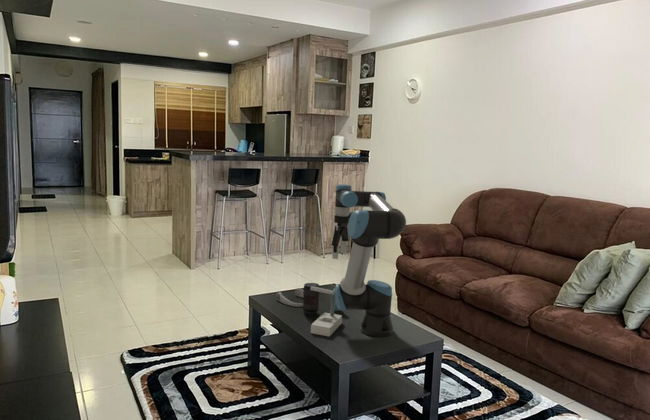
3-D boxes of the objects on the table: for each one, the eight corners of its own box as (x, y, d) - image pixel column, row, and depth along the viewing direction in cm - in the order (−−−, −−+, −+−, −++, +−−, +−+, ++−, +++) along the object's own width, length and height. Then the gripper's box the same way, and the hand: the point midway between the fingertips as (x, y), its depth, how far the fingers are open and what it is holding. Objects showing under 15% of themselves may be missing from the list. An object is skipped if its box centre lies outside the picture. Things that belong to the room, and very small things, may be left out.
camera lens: (319, 311, 256) (320, 283, 254) (317, 316, 248) (319, 287, 246) (303, 309, 256) (305, 281, 254) (301, 315, 248) (302, 286, 246)
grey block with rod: (341, 323, 240) (343, 295, 238) (329, 336, 224) (331, 306, 222) (324, 320, 243) (325, 292, 241) (310, 332, 226) (312, 302, 224)
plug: (332, 307, 262) (334, 287, 261) (342, 309, 261) (343, 289, 259) (329, 310, 258) (330, 290, 256) (338, 312, 256) (340, 291, 254)
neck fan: (319, 303, 269) (320, 294, 268) (296, 309, 257) (296, 300, 257) (298, 294, 282) (298, 286, 281) (274, 300, 270) (274, 291, 269)
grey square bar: (334, 295, 236) (334, 292, 236) (309, 290, 242) (310, 287, 242) (336, 294, 238) (336, 290, 238) (312, 289, 244) (312, 286, 244)
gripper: (342, 211, 265) (339, 250, 268) (326, 217, 242) (324, 260, 245) (355, 212, 263) (353, 252, 265) (341, 219, 239) (338, 262, 242)
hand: (339, 256), depth 255 cm, fingers open, 13 cm apart
